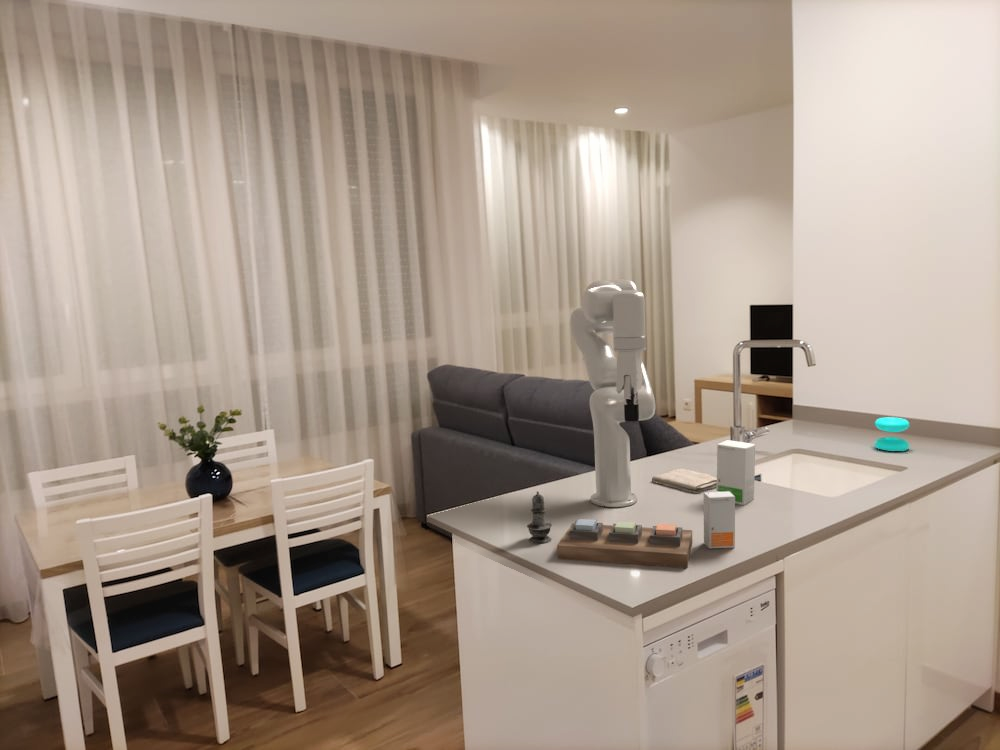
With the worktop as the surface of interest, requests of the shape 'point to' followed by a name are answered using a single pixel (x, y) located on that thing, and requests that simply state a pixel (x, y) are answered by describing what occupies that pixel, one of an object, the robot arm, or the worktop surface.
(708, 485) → the washcloth
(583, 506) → the worktop surface
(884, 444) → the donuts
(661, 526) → the terracotta button
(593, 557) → the console
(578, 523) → the blue button
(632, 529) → the green button
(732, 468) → the skincare box
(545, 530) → the dark grey figurine
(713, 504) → the skincare box
